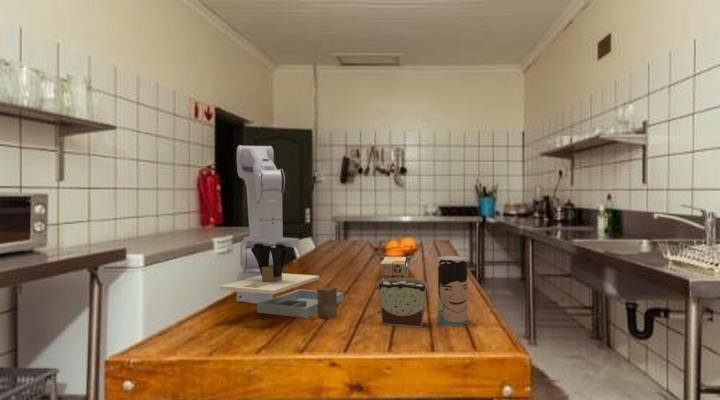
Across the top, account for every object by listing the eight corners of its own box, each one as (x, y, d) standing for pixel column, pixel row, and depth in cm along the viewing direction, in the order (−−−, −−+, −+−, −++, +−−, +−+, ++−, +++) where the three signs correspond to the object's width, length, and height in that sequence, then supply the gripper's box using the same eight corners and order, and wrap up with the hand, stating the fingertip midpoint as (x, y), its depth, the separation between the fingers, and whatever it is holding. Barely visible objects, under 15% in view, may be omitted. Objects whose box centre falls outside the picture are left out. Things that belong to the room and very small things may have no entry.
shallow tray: (257, 315, 130) (257, 303, 130) (299, 299, 148) (299, 289, 148) (306, 321, 124) (305, 308, 124) (343, 303, 142) (343, 292, 142)
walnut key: (317, 321, 124) (317, 289, 124) (325, 317, 128) (325, 286, 128) (328, 322, 123) (328, 290, 123) (336, 318, 127) (336, 287, 126)
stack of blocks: (387, 293, 157) (387, 252, 157) (408, 293, 156) (408, 252, 156) (380, 309, 136) (380, 262, 136) (404, 310, 135) (404, 262, 135)
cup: (436, 324, 120) (435, 259, 120) (440, 317, 127) (440, 255, 126) (465, 326, 118) (465, 260, 118) (468, 319, 125) (468, 256, 124)
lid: (219, 289, 120) (219, 270, 120) (270, 275, 139) (270, 259, 139) (273, 294, 114) (273, 274, 114) (319, 278, 133) (319, 262, 133)
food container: (433, 321, 123) (433, 279, 123) (428, 328, 117) (428, 283, 117) (383, 317, 127) (383, 276, 127) (376, 323, 121) (375, 280, 121)
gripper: (235, 220, 125) (236, 276, 125) (287, 221, 119) (288, 280, 119) (253, 218, 131) (253, 272, 132) (303, 219, 125) (303, 275, 126)
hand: (271, 276), depth 126 cm, fingers closed on lid, 3 cm apart
